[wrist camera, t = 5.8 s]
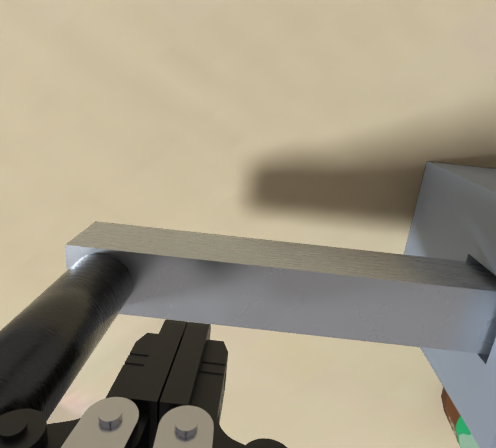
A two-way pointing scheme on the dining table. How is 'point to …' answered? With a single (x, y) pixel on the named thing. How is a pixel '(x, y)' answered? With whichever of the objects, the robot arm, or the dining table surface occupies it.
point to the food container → (457, 423)
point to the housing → (462, 249)
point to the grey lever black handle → (236, 299)
